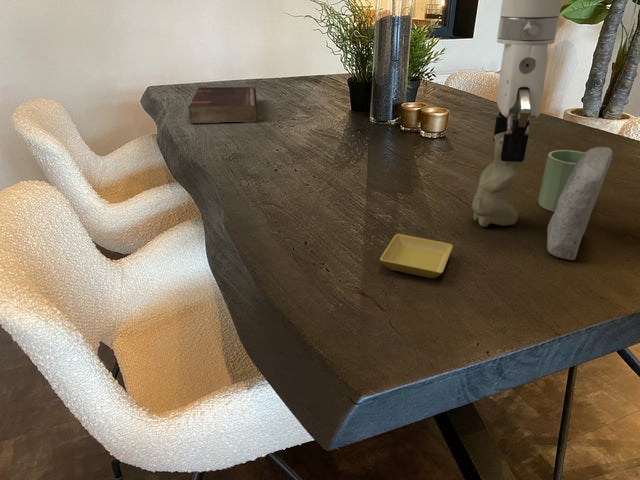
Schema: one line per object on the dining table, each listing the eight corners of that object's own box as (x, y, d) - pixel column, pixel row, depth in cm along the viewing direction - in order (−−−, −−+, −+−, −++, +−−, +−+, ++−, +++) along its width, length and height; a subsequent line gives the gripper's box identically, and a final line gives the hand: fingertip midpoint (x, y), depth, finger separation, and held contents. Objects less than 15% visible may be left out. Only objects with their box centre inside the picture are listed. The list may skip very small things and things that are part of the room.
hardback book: (257, 122, 141) (256, 104, 138) (190, 124, 139) (188, 106, 137) (256, 100, 166) (255, 85, 164) (200, 102, 164) (198, 87, 162)
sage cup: (578, 198, 90) (591, 151, 86) (590, 215, 84) (604, 165, 79) (534, 195, 92) (544, 148, 88) (542, 212, 85) (553, 162, 81)
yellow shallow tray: (452, 256, 72) (454, 243, 71) (440, 286, 64) (442, 272, 64) (395, 245, 75) (396, 232, 74) (378, 272, 68) (378, 259, 67)
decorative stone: (583, 266, 69) (612, 164, 62) (537, 255, 71) (561, 157, 64) (589, 235, 77) (615, 143, 70) (548, 227, 80) (570, 137, 73)
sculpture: (521, 229, 79) (540, 138, 72) (479, 232, 78) (494, 141, 71) (504, 214, 84) (520, 128, 77) (464, 217, 83) (477, 130, 76)
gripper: (571, 37, 59) (544, 171, 67) (543, 25, 74) (523, 136, 82) (506, 37, 61) (487, 168, 69) (491, 26, 76) (477, 134, 84)
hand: (507, 150), depth 75 cm, fingers open, 9 cm apart
